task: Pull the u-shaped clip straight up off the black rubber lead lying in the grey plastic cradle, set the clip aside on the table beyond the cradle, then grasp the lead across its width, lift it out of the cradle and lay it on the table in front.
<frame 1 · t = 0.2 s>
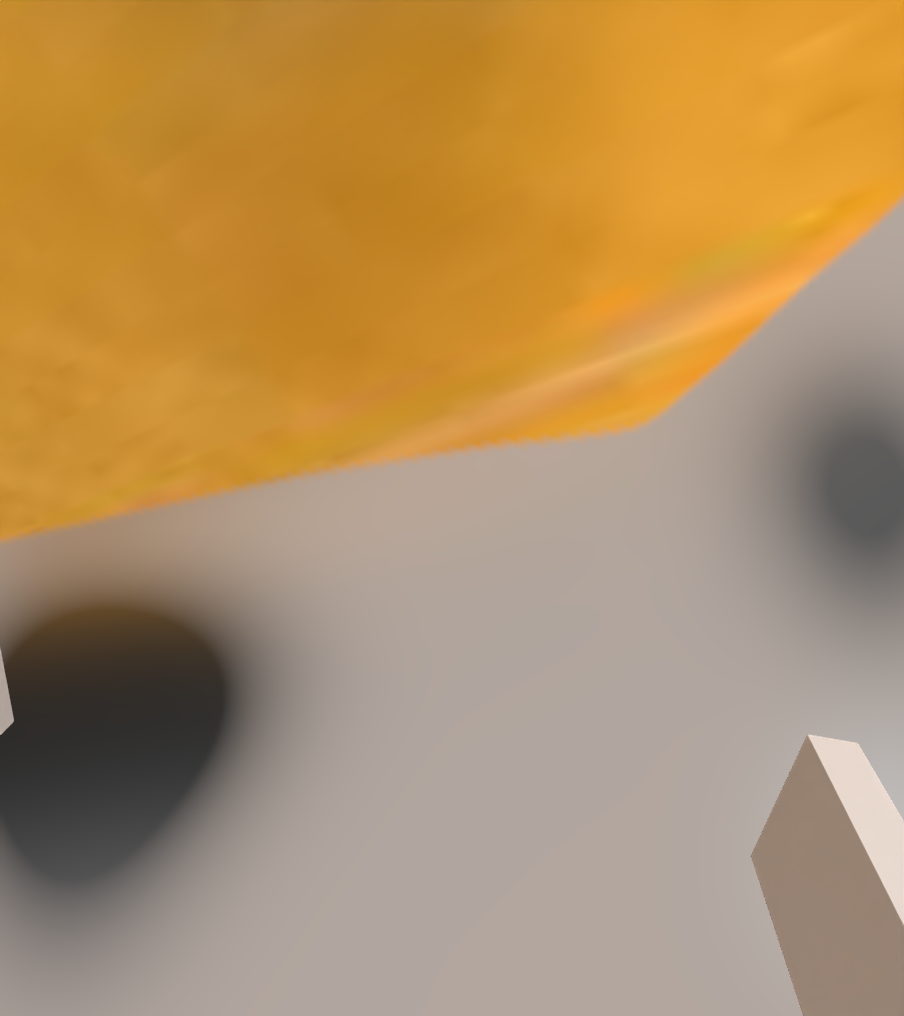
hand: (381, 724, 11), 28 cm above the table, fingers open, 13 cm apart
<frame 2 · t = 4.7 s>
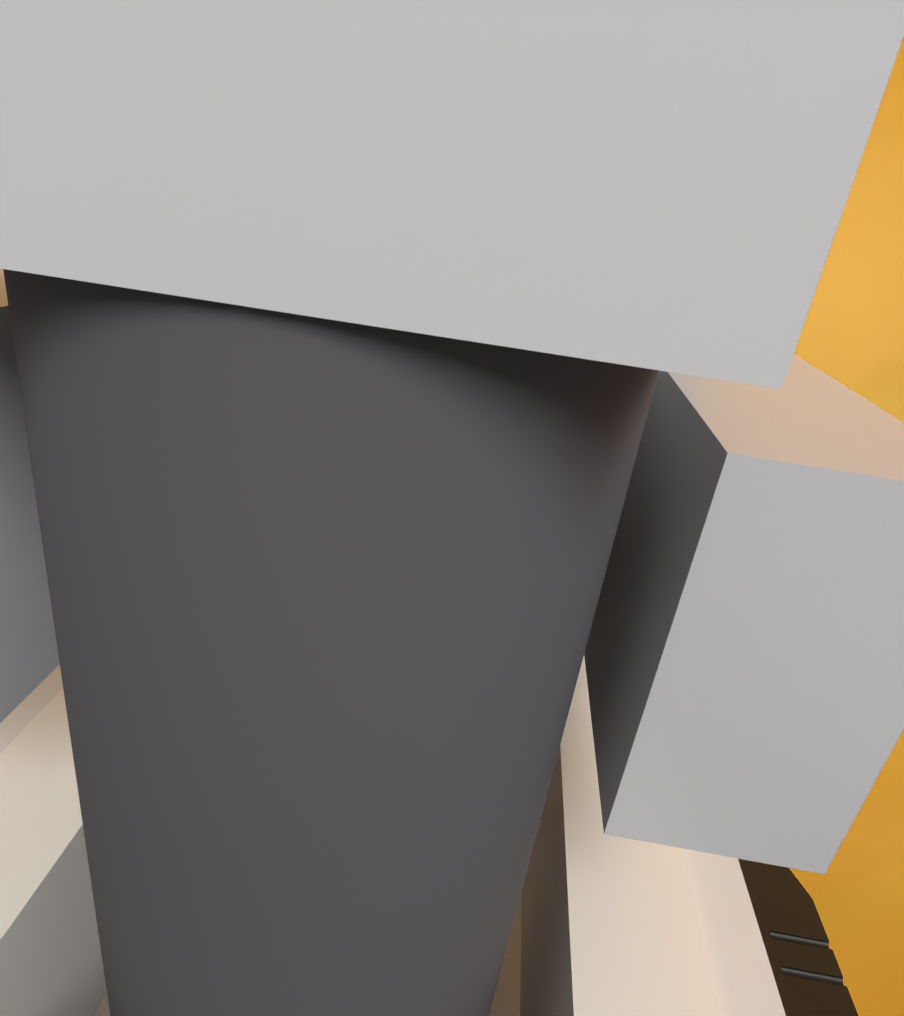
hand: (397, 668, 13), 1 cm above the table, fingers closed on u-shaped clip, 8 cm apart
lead: (354, 820, 10), point 5 cm above the table, touching cradle
u-shaped clip: (403, 647, 13), point 1 cm above the table, touching cradle, gripper
cradle: (408, 629, 14), on the table
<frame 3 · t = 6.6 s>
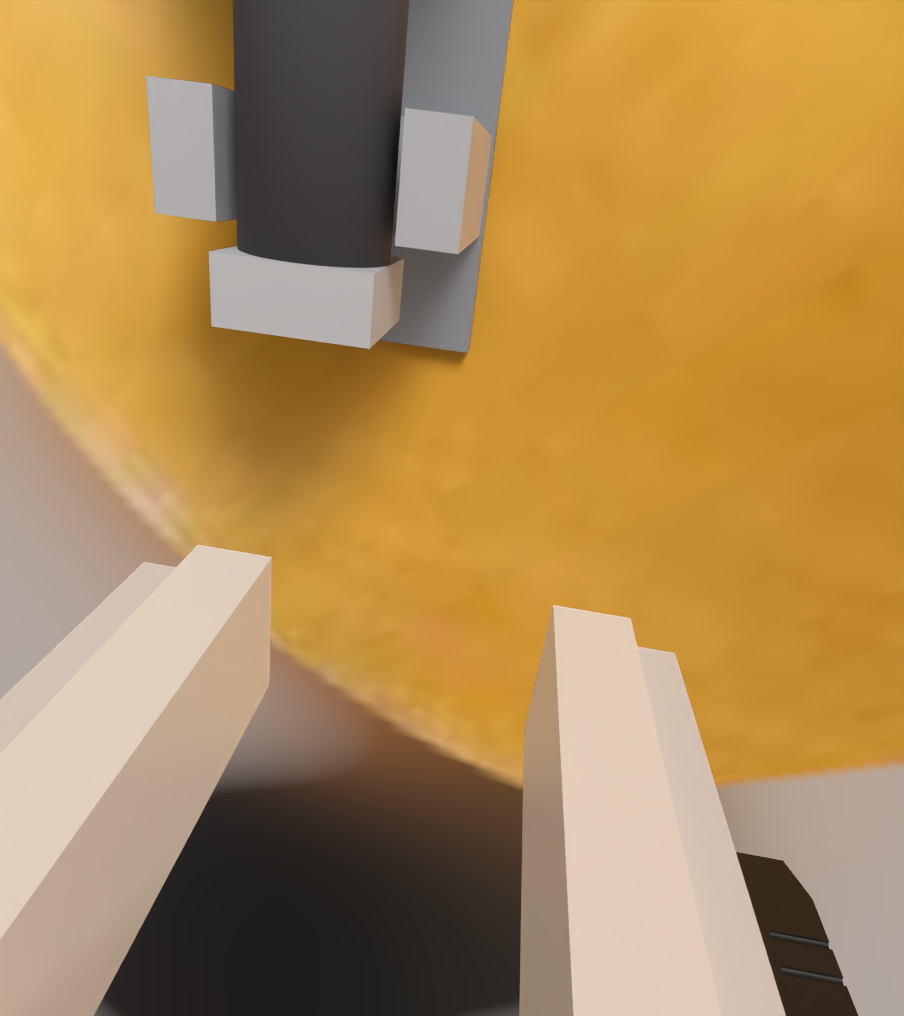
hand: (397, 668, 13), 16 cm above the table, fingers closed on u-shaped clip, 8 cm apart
u-shaped clip: (403, 647, 13), point 15 cm above the table, touching gripper
when the fingers open (2 cm above the table, at t = 8.6 s): u-shaped clip drops 1 cm, on the table.
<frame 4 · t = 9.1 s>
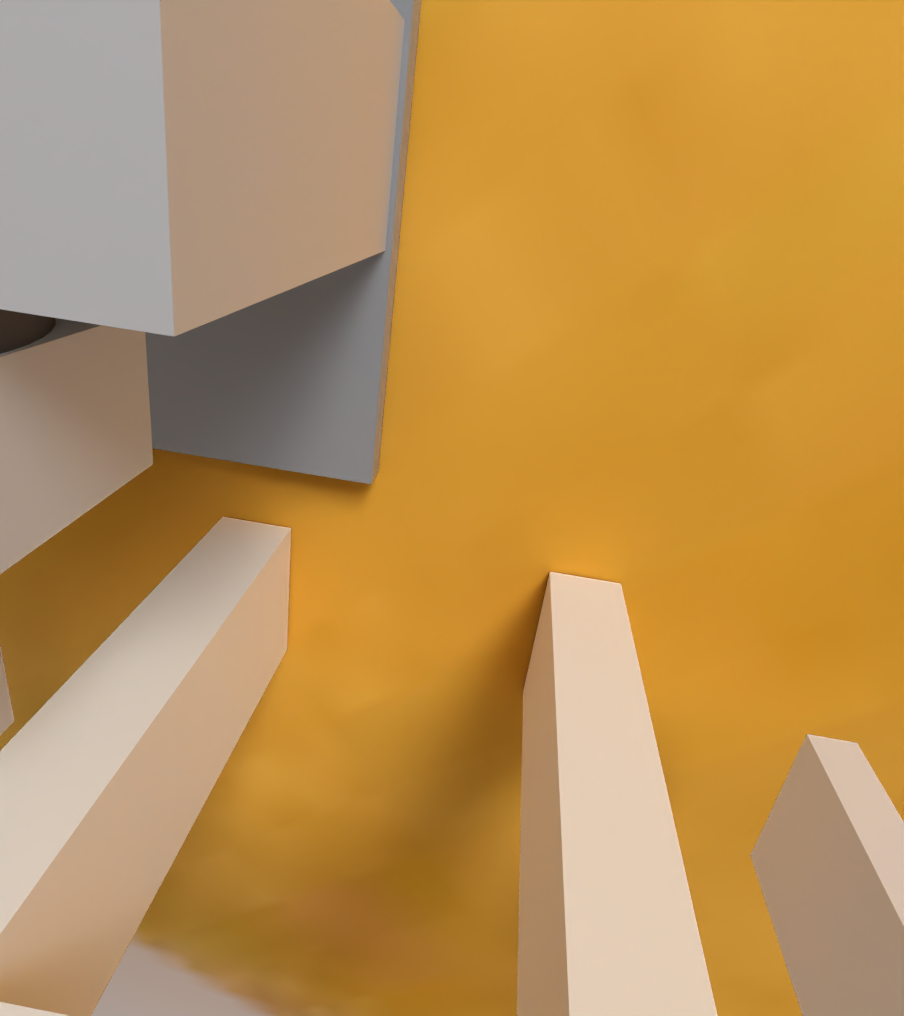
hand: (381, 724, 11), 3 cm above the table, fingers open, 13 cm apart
u-shaped clip: (411, 612, 14), on the table
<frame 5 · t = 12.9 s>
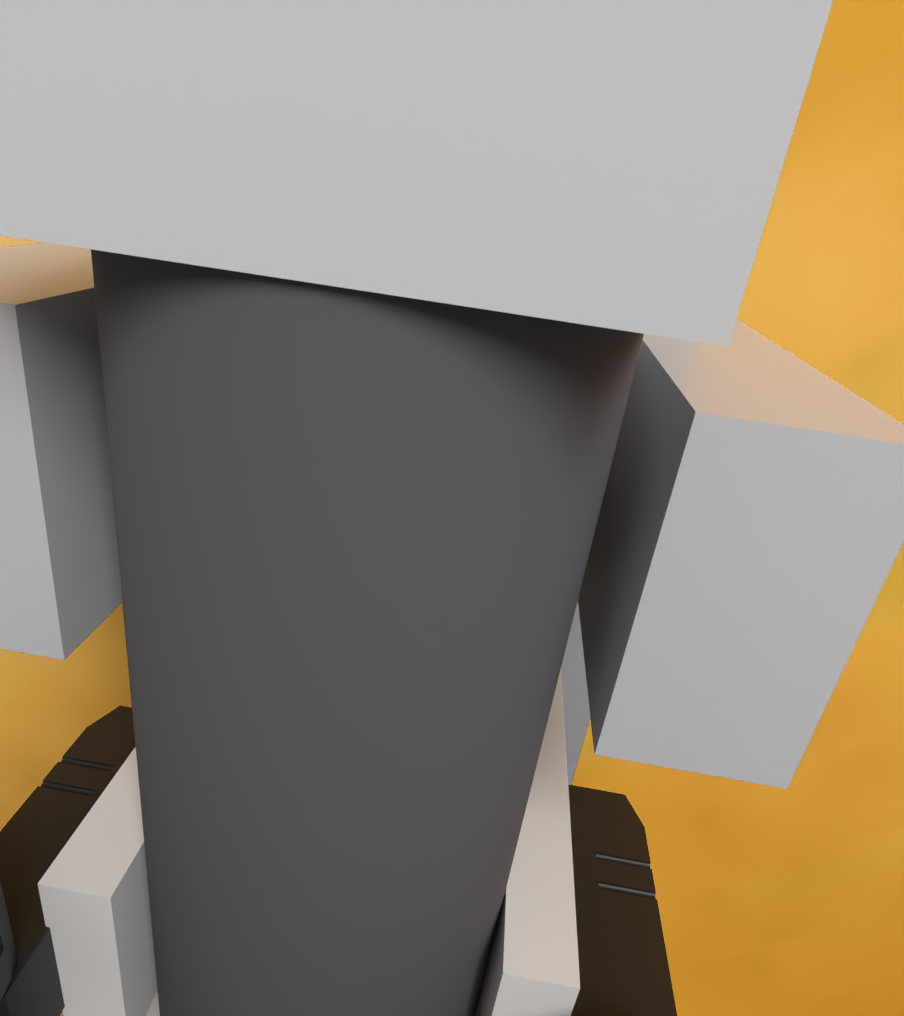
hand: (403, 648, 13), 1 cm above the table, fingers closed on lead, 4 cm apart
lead: (366, 776, 10), point 5 cm above the table, touching gripper
cradle: (414, 607, 14), on the table
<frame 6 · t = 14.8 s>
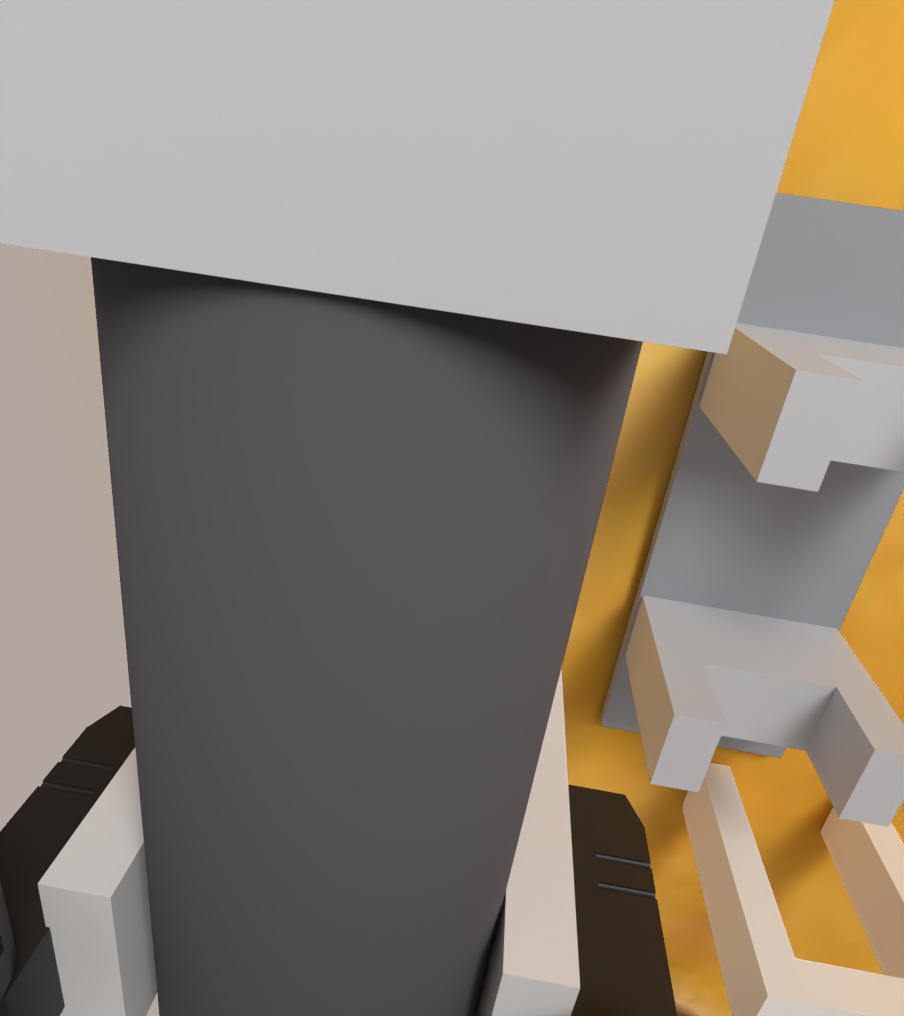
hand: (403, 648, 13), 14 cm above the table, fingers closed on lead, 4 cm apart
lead: (366, 779, 10), point 18 cm above the table, touching gripper
u-shaped clip: (775, 799, 32), on the table
cradle: (767, 517, 26), on the table
when the fingers open (0 cm above the table, at t = 17.2 s): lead drops 3 cm, on the table.
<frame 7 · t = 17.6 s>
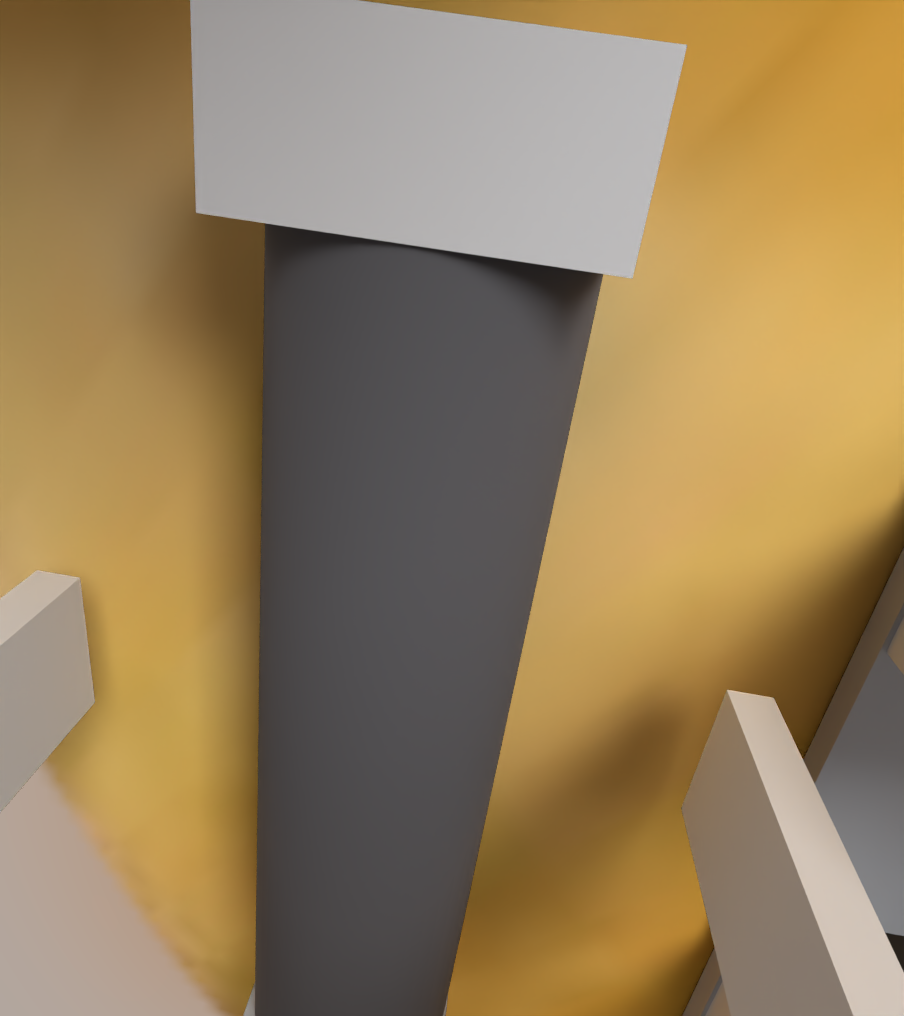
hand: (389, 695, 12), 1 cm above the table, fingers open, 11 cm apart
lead: (403, 646, 13), on the table
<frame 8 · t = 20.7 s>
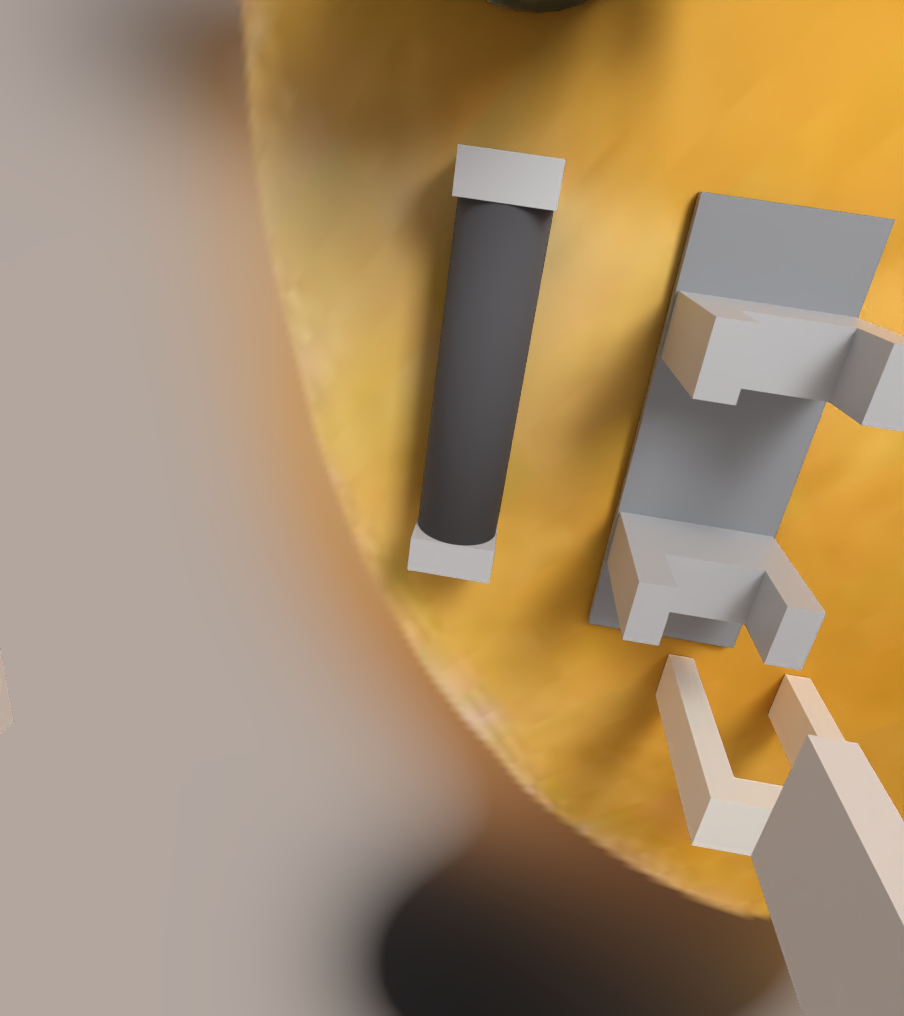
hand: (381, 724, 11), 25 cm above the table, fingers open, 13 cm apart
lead: (481, 370, 34), on the table
u-shaped clip: (731, 686, 40), on the table
cradle: (716, 446, 34), on the table
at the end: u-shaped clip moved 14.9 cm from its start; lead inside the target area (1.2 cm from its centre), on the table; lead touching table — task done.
